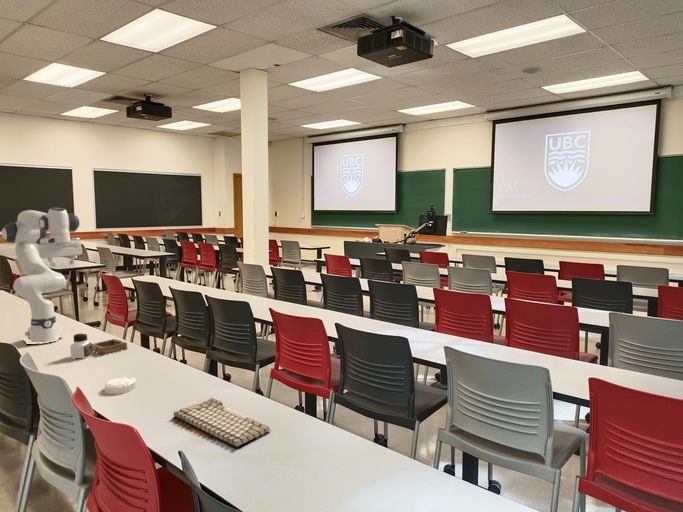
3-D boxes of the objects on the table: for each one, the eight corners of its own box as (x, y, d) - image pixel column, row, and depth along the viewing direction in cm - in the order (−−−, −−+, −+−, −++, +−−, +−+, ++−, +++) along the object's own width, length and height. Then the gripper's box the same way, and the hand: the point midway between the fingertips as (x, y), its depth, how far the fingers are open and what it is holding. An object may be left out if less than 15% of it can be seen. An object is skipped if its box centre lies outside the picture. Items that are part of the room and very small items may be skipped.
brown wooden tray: (91, 350, 252) (90, 344, 252) (115, 345, 262) (114, 338, 262) (102, 355, 244) (102, 348, 244) (127, 349, 254) (126, 342, 254)
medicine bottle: (84, 359, 239) (83, 336, 237) (70, 359, 239) (69, 336, 237) (92, 354, 246) (90, 332, 244) (78, 354, 246) (77, 332, 245)
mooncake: (102, 388, 200) (101, 380, 200) (131, 381, 208) (131, 373, 207) (109, 397, 191) (109, 388, 191) (140, 389, 199) (139, 381, 198)
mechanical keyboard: (278, 430, 162) (278, 421, 161) (234, 454, 147) (234, 443, 146) (210, 403, 185) (210, 395, 185) (166, 421, 170) (166, 412, 170)
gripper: (77, 237, 255) (79, 262, 257) (36, 240, 238) (38, 267, 240) (83, 237, 252) (85, 263, 253) (42, 240, 235) (44, 268, 236)
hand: (62, 265), depth 246 cm, fingers open, 8 cm apart
